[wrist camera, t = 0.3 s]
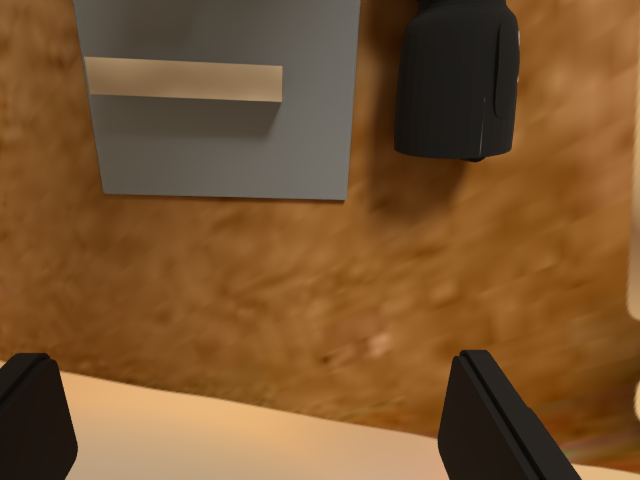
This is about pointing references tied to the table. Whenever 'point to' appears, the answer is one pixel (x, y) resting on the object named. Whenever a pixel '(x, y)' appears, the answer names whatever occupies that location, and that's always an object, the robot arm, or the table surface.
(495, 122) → the figurine
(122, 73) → the plank
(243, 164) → the panel
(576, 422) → the table surface
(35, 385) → the robot arm
